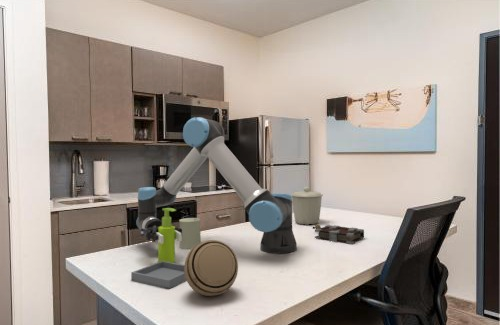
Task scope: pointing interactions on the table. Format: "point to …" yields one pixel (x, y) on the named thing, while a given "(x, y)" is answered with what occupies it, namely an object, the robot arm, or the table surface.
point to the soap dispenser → (167, 238)
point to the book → (339, 234)
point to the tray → (160, 274)
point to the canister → (306, 206)
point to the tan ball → (211, 268)
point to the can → (190, 232)
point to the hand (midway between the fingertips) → (171, 238)
